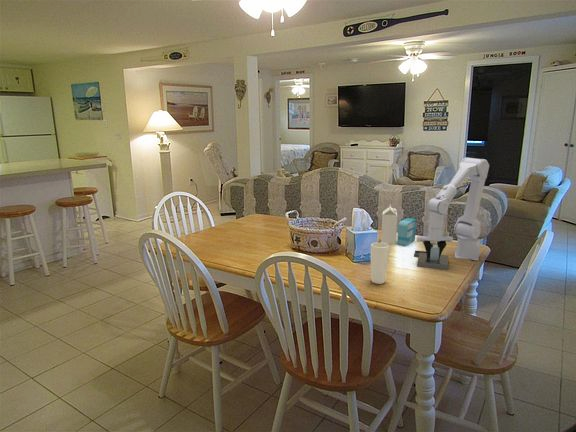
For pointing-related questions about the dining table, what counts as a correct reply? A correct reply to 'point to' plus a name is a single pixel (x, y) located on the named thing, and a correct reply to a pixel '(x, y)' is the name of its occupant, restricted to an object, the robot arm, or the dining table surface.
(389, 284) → the dining table surface
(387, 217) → the milk carton
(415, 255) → the square shadow box
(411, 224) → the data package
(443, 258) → the port block
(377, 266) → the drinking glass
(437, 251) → the plug
